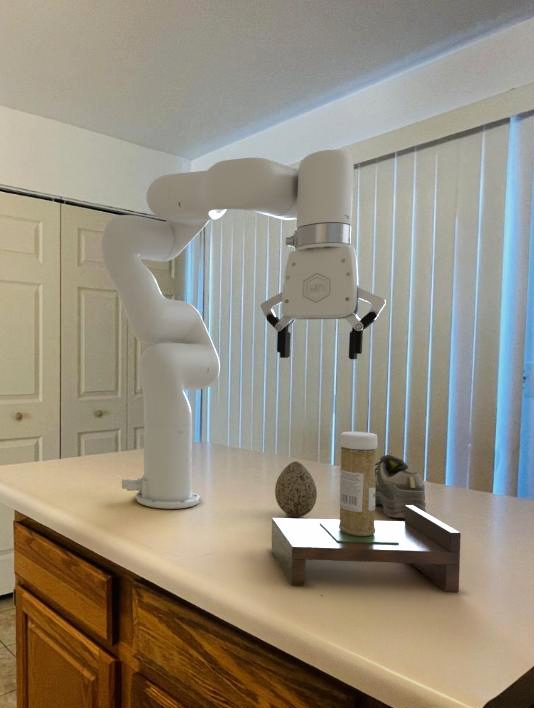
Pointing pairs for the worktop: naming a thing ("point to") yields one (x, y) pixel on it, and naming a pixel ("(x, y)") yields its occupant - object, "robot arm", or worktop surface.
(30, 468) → the worktop surface
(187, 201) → the robot arm
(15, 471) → the worktop surface
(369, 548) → the shelf
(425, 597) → the worktop surface
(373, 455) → the sprinkles bottle
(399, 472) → the hiking shoe
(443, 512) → the worktop surface
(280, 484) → the decorative egg
